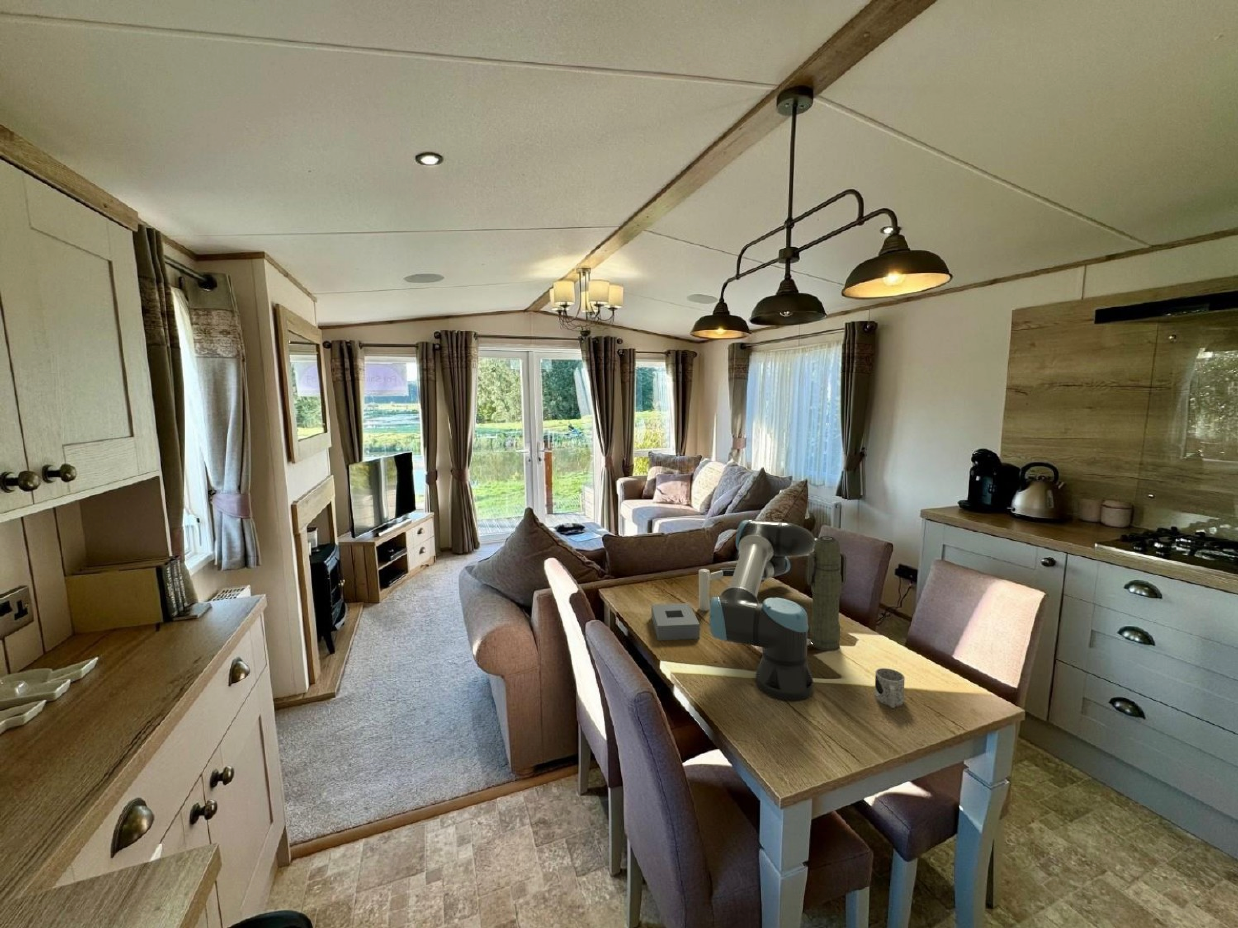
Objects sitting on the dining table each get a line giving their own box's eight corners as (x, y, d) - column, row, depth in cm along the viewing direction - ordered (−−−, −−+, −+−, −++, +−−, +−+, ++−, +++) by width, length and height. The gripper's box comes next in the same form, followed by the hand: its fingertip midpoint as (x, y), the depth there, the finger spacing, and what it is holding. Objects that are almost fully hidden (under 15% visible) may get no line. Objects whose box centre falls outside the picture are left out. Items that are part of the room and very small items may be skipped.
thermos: (850, 648, 157) (853, 540, 153) (815, 652, 155) (818, 543, 151) (833, 636, 166) (836, 533, 162) (800, 639, 164) (802, 535, 160)
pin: (710, 610, 189) (710, 572, 187) (700, 611, 189) (700, 572, 187) (708, 606, 193) (708, 568, 191) (698, 606, 193) (697, 569, 191)
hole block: (699, 638, 167) (699, 624, 166) (658, 640, 166) (657, 625, 165) (689, 615, 184) (689, 602, 184) (651, 617, 184) (651, 604, 183)
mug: (873, 689, 135) (874, 666, 134) (901, 694, 132) (902, 670, 132) (877, 710, 126) (878, 685, 125) (907, 716, 123) (908, 690, 122)
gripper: (784, 588, 197) (747, 601, 185) (737, 571, 217) (701, 582, 206) (784, 570, 196) (747, 581, 184) (737, 555, 216) (701, 564, 205)
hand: (722, 581), depth 195 cm, fingers open, 13 cm apart
